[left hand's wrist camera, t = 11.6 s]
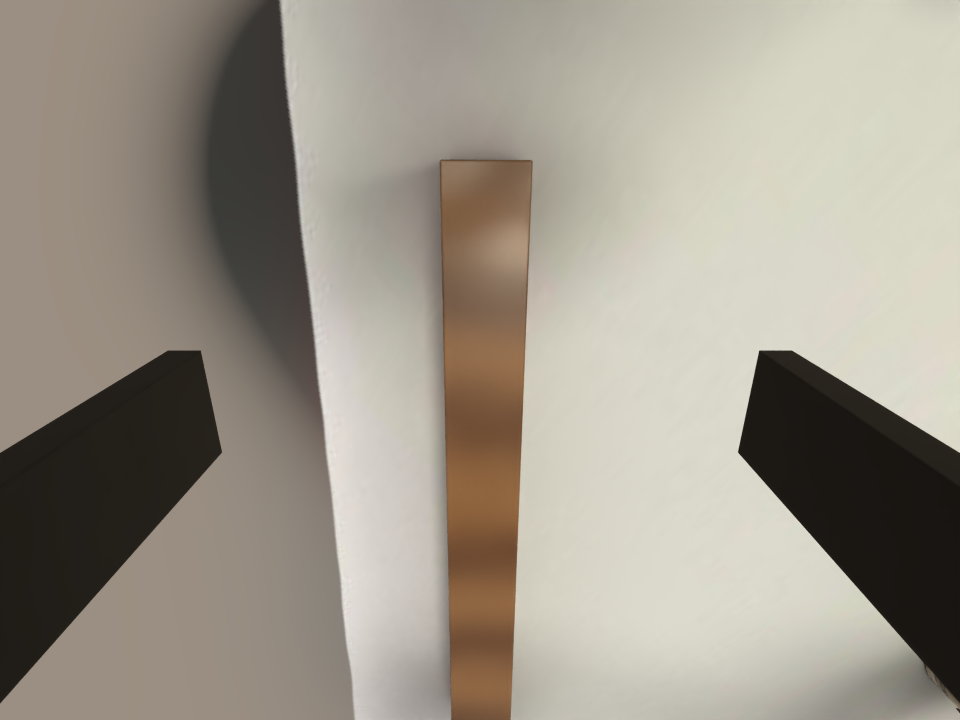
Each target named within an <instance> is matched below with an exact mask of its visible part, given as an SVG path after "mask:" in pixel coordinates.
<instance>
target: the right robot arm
mask: <svg viewBox="0 0 960 720" xmlns="http://www.w3.org/2000/svg"><path fill="white" fill-rule="evenodd" d="M926 671H927V673H928V675H929V677H930V678H931V679H932V680H933V681H934V683H935V684H936V685H937V686H938V687H939V688H940V689H941V690H942V691H943V692H944V693H945V694H946V695H947V697H948V698H950V699H951V700H952V702H953V703H954V704H955V705H956V706H957V707H958V708H959V709H958V708H956V709H957V710H958V711H959V713H960V703H959V702H958V701H957V700H956V698H955V697H954V696H953V695H952V694H951V693H950V692H949V691H948V689H947V688H946V687H945V686H944V685H943V684H942V683H941V681H940V680H939V679H938V678H937V677H936V676H935V675H934V674H933V672H932V671H931V670H930V669H929V668H928V667H927V666H926Z"/></svg>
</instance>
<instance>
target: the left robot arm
mask: <svg viewBox="0 0 960 720" xmlns="http://www.w3.org/2000/svg"><path fill="white" fill-rule="evenodd" d="M221 453H222V450H221V445H220V441H219V436H218V431H217V426H216V422H215V417H214V412H213V407H212V402H211V398H210V393H209V388H208V383H207V379H206V374H205V369H204V364H203V360H202V355H201V351H167V352H165V353H163V354H162V355H160V356H158V357H157V358H155V359H154V360H152V361H150V362H149V363H147V364H145V365H144V366H142V367H140V368H139V369H137V370H135V371H134V372H132V373H131V374H129V375H127V376H126V377H124V378H122V379H121V380H119V381H117V382H116V383H114V384H113V385H111V386H109V387H108V388H106V389H104V390H103V391H101V392H99V393H98V394H96V395H94V396H93V397H91V398H90V399H88V400H86V401H85V402H83V403H81V404H80V405H78V406H76V407H75V408H73V409H72V410H70V411H68V412H67V413H65V414H63V415H62V416H60V417H58V418H57V419H55V420H54V421H52V422H50V423H49V424H47V425H45V426H44V427H42V428H40V429H39V430H37V431H35V432H34V433H32V434H31V435H29V436H27V437H26V438H24V439H22V440H21V441H19V442H17V443H16V444H14V445H12V446H11V447H9V448H8V449H6V450H4V451H3V452H1V453H0V703H1V702H2V701H3V700H4V698H5V697H6V696H7V695H8V694H9V693H10V692H11V691H12V689H13V688H14V687H15V686H16V685H17V684H18V683H19V681H20V680H21V679H22V678H23V677H24V676H25V675H26V674H27V672H28V671H29V670H30V669H31V668H32V667H33V666H34V664H35V663H36V662H37V661H38V660H39V659H40V658H41V657H42V655H43V654H44V653H45V652H46V651H47V650H48V649H49V648H50V646H51V645H52V644H53V643H54V642H55V641H56V640H57V638H58V637H59V636H60V635H61V634H62V633H63V632H64V631H65V629H66V628H67V627H68V626H69V625H70V624H71V623H72V621H73V620H74V619H75V618H76V617H77V616H78V615H79V614H80V612H81V611H82V610H83V609H84V608H85V607H86V606H87V605H88V603H89V602H90V601H91V600H92V599H93V598H94V597H95V595H96V594H97V593H98V592H99V591H100V590H101V589H102V588H103V586H104V585H105V584H106V583H107V582H108V581H109V580H110V578H111V577H112V576H113V575H114V574H115V573H116V572H117V571H118V569H119V568H120V567H121V566H122V565H123V564H124V563H125V562H126V560H127V559H128V558H129V557H130V556H131V555H132V554H133V552H134V551H135V550H136V549H137V548H138V547H139V546H140V545H141V543H142V542H143V541H144V540H145V539H146V538H147V537H148V536H149V534H150V533H151V532H152V531H153V530H154V529H155V528H156V526H157V525H158V524H159V523H160V522H161V521H162V520H163V519H164V517H165V516H166V515H167V514H168V513H169V512H170V511H171V509H172V508H173V507H174V506H175V505H176V504H177V503H178V502H179V500H180V499H181V498H182V497H183V496H184V495H185V494H186V493H187V491H188V490H189V489H190V488H191V487H192V486H193V485H194V483H195V482H196V481H197V480H198V479H199V478H200V477H201V476H202V474H203V473H204V472H205V471H206V470H207V469H208V468H209V466H210V465H211V464H212V463H213V462H214V461H215V460H216V459H217V457H218V456H219V455H220V454H221ZM738 453H739V454H740V455H741V456H742V457H743V459H744V460H745V461H746V462H747V463H748V464H749V465H750V466H751V468H752V469H753V470H754V471H755V472H756V473H757V474H758V476H759V477H760V478H761V479H762V480H763V481H764V482H765V483H766V485H767V486H768V487H769V488H770V489H771V490H772V491H773V493H774V494H775V495H776V496H777V497H778V498H779V499H780V500H781V502H782V503H783V504H784V505H785V506H786V507H787V508H788V509H789V511H790V512H791V513H792V514H793V515H794V516H795V517H796V519H797V520H798V521H799V522H800V523H801V524H802V525H803V526H804V528H805V529H806V530H807V531H808V532H809V533H810V534H811V536H812V537H813V538H814V539H815V540H816V541H817V542H818V543H819V545H820V546H821V547H822V548H823V549H824V550H825V551H826V552H827V554H828V555H829V556H830V557H831V558H832V559H833V560H834V562H835V563H836V564H837V565H838V566H839V567H840V568H841V569H842V571H843V572H844V573H845V574H846V575H847V576H848V577H849V579H850V580H851V581H852V582H853V583H854V584H855V585H856V586H857V588H858V589H859V590H860V591H861V592H862V593H863V594H864V595H865V597H866V598H867V599H868V600H869V601H870V602H871V603H872V605H873V606H874V607H875V608H876V609H877V610H878V611H879V612H880V614H881V615H882V616H883V617H884V618H885V619H886V620H887V622H888V623H889V624H890V625H891V626H892V627H893V628H894V629H895V631H896V632H897V633H898V634H899V635H900V636H901V637H902V638H903V640H904V641H905V642H906V643H907V644H908V645H909V646H910V648H911V649H912V650H913V651H914V652H915V653H916V654H917V655H918V657H919V658H920V659H921V660H922V661H923V662H924V663H925V665H926V666H927V667H928V668H929V669H930V670H931V671H932V672H933V674H934V675H935V676H936V677H937V678H938V679H939V680H940V681H941V683H942V684H943V685H944V686H945V687H946V688H947V689H948V691H949V692H950V693H951V694H952V695H953V696H954V697H955V698H956V700H957V701H958V702H959V703H960V453H959V452H957V451H956V450H954V449H952V448H951V447H949V446H948V445H946V444H944V443H943V442H941V441H939V440H938V439H936V438H934V437H933V436H931V435H929V434H928V433H926V432H925V431H923V430H921V429H920V428H918V427H916V426H915V425H913V424H911V423H910V422H908V421H907V420H905V419H903V418H902V417H900V416H898V415H897V414H895V413H893V412H892V411H890V410H888V409H887V408H885V407H884V406H882V405H880V404H879V403H877V402H875V401H874V400H872V399H870V398H869V397H867V396H866V395H864V394H862V393H861V392H859V391H857V390H856V389H854V388H852V387H851V386H849V385H847V384H846V383H844V382H843V381H841V380H839V379H838V378H836V377H834V376H833V375H831V374H829V373H828V372H826V371H825V370H823V369H821V368H820V367H818V366H816V365H815V364H813V363H811V362H810V361H808V360H806V359H805V358H803V357H802V356H800V355H798V354H797V353H795V352H793V351H759V355H758V359H757V364H756V369H755V374H754V378H753V383H752V388H751V393H750V398H749V402H748V407H747V412H746V417H745V422H744V426H743V431H742V436H741V441H740V445H739V450H738Z"/></svg>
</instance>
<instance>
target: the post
mask: <svg viewBox="0 0 960 720" xmlns="http://www.w3.org/2000/svg"><path fill="white" fill-rule="evenodd" d="M532 163H533V162H532V161H531V160H440V193H441V241H442V289H443V337H444V384H445V432H446V480H447V528H448V576H449V624H450V671H451V719H452V720H510V719H511V694H512V668H513V643H514V618H515V593H516V567H517V542H518V517H519V491H520V466H521V441H522V416H523V390H524V365H525V340H526V315H527V289H528V264H529V239H530V214H531V188H532Z"/></svg>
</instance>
